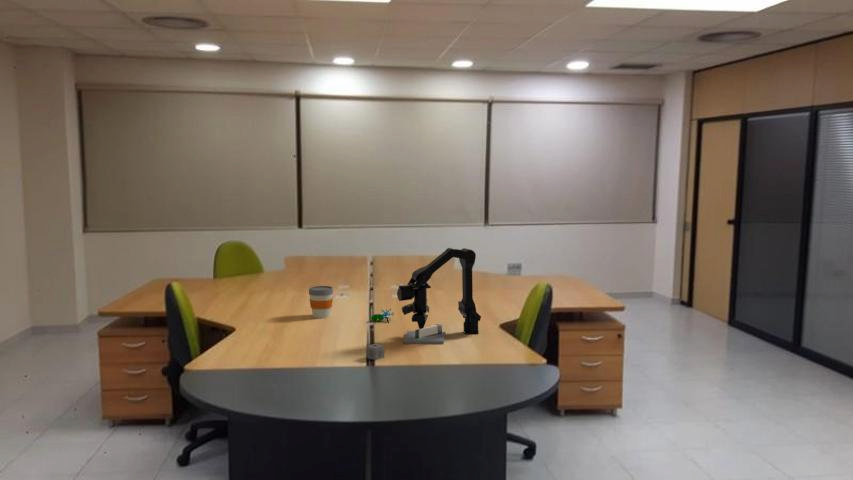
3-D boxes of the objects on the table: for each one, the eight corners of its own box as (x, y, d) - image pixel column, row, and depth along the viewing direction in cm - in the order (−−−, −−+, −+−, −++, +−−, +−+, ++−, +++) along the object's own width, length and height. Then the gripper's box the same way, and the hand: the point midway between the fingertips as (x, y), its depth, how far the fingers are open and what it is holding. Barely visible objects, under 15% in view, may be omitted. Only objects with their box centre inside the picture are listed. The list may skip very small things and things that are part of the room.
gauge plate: (445, 334, 296) (445, 331, 296) (443, 343, 280) (443, 340, 280) (407, 333, 297) (407, 330, 297) (403, 343, 282) (403, 340, 281)
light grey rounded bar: (439, 331, 295) (438, 323, 295) (443, 332, 293) (443, 325, 292) (413, 337, 285) (413, 329, 285) (418, 338, 283) (417, 331, 282)
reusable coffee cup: (328, 319, 325) (328, 290, 323) (305, 318, 328) (304, 290, 326) (337, 313, 337) (336, 286, 336) (314, 312, 340) (314, 285, 338)
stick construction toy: (394, 314, 325) (391, 305, 320) (397, 324, 320) (394, 315, 315) (372, 321, 325) (368, 312, 319) (374, 332, 320) (371, 322, 314)
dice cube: (375, 355, 265) (375, 343, 264) (384, 357, 262) (383, 345, 261) (366, 358, 261) (366, 346, 260) (375, 360, 258) (375, 348, 257)
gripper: (405, 293, 297) (406, 325, 299) (399, 303, 278) (400, 337, 281) (429, 293, 296) (429, 325, 298) (425, 303, 277) (425, 338, 280)
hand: (421, 331), depth 289 cm, fingers closed
